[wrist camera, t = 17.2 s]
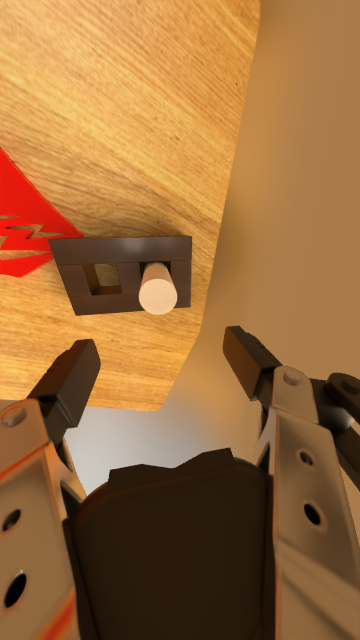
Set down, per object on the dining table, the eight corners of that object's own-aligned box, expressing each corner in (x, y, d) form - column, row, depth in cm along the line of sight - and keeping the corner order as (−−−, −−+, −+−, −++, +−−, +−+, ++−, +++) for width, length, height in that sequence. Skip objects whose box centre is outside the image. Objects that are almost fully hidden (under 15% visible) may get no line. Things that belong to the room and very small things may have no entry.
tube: (166, 282, 32) (175, 315, 19) (144, 280, 32) (138, 314, 19) (168, 259, 30) (179, 280, 17) (144, 257, 30) (138, 277, 17)
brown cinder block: (64, 237, 26) (46, 238, 22) (186, 235, 29) (192, 236, 24) (86, 304, 32) (75, 315, 28) (185, 297, 35) (190, 307, 30)
